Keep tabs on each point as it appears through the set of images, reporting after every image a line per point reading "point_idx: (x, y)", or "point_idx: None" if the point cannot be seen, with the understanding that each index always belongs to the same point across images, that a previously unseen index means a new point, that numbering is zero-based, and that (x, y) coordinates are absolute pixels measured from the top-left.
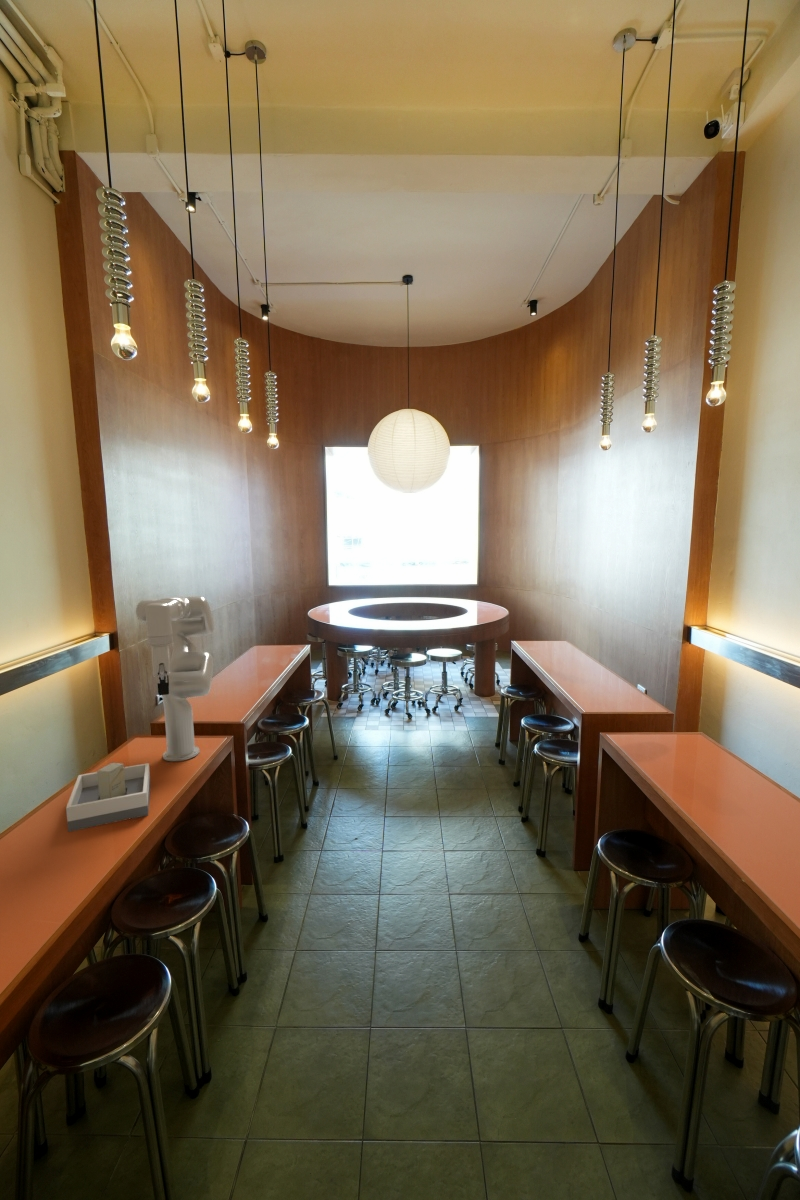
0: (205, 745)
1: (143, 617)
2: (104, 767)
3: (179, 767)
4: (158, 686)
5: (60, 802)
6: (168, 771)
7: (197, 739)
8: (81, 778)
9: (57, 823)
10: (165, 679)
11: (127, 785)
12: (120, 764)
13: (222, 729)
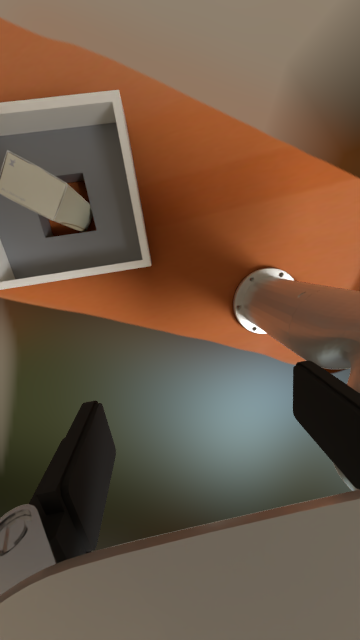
0: None
1: None
2: (32, 168)
3: (206, 306)
4: (54, 467)
5: (106, 82)
6: (194, 289)
7: None
8: (105, 105)
9: None
10: (333, 444)
11: (108, 228)
12: (48, 213)
13: None
